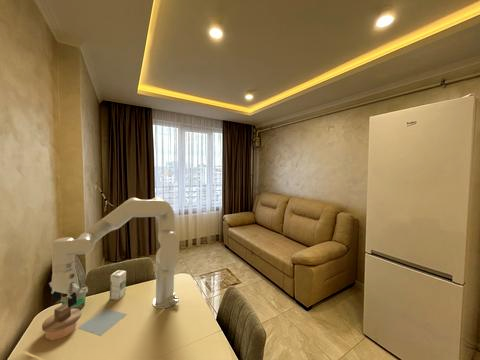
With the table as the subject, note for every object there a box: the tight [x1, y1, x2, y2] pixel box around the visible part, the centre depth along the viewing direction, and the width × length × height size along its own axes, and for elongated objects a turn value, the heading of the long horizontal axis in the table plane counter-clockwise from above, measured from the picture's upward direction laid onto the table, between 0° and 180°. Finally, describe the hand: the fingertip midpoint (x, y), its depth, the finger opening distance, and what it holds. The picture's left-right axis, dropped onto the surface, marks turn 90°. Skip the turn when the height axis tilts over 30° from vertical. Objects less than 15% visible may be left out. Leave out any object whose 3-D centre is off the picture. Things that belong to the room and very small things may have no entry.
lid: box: [41, 304, 82, 332], centre depth 88 cm, size 13×13×6 cm
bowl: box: [44, 319, 79, 341], centre depth 88 cm, size 10×10×5 cm
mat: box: [77, 307, 128, 337], centre depth 95 cm, size 14×14×1 cm
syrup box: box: [109, 269, 127, 300], centre depth 113 cm, size 6×6×14 cm
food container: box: [59, 284, 89, 311], centre depth 102 cm, size 12×6×10 cm, turn 168°
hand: (64, 303), depth 88 cm, fingers open, 9 cm apart
